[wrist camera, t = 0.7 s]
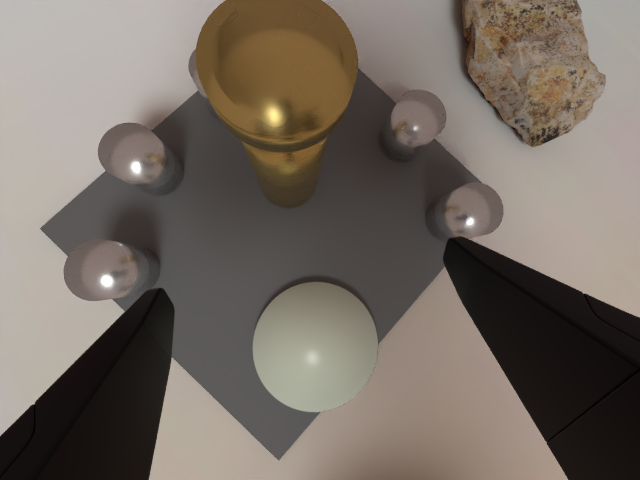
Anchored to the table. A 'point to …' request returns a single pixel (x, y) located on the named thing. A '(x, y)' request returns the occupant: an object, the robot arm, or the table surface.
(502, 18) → the stone
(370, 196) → the mat
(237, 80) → the brass sleeve
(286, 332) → the pad
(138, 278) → the spacers
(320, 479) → the table surface
